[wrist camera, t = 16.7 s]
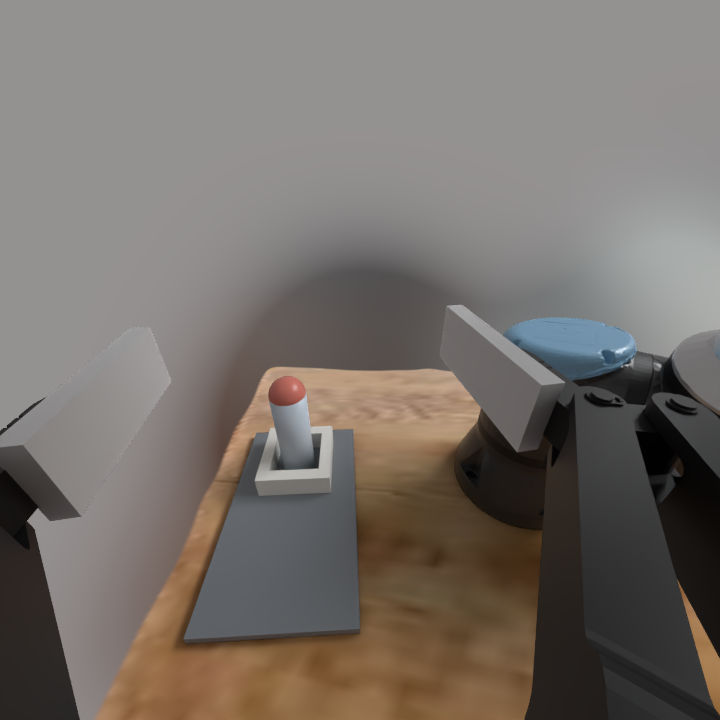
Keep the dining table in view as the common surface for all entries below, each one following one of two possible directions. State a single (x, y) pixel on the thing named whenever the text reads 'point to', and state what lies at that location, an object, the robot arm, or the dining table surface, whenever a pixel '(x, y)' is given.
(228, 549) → the jig
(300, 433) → the red-tipped grey joystick
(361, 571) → the dining table surface
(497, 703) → the dining table surface
